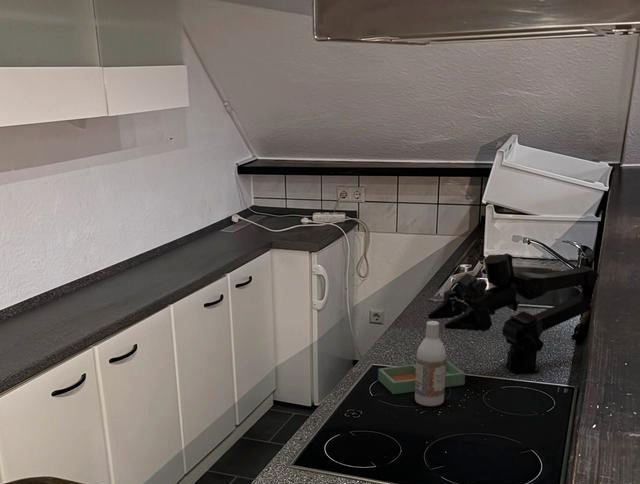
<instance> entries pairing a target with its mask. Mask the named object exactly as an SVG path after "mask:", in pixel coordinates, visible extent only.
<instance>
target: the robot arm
mask: <svg viewBox="0 0 640 484" xmlns="http://www.w3.org/2000/svg"><path fill="white" fill-rule="evenodd" d="M483 263H484V268H485V275H486V280H487V282H486V280H483V279H478V278H477V277H475V276H474V275H473V274H470V273H467V272H466V273H465V274H464V275H463V276H461V277H460V278H459V279H458V280H457V281H456V283H457V285H458V286H460V288H461V290H462V292H464V293H462V294H460V293H459V292H457V291H454V290H452V289H449V290H446V291H444V292H443V298H442V299H443V300H442V302H441V303H440V304H439V305H438V306H437V307H436V308H434V309H433V310H432V311H431V312H430V313H429V314H427V317H428V320H439V319H440V320H441V319H451V320H450V321H448V322H446V323H444V329H445V330H463V331H464V330H465V331H475V332H479V331H481V332H483V333H484V332H486V331H489V330H490V329H491V327H492V325H493V322H492V317H491V316H493V315H496V311H498V310H501V309H503V308H506V307H507V308H508V309H510V310H512V311H513V312H517V311H518V308H519V305H520V304H521V301H520V300H518V299H517V296H518V297H520V298H523V299H525V300H529V301H530V300H531V301H532V300H535V299H538V298H540V297H543V296H544V295H546V293H548V292H551V291H557V290H562V289H568V288H574V287H578V286H579V287H580V288H581V291H580V293H579V294H578V295H577V296H574V297H571V298H570V299H567V300H565V301H563V302H561V303H558V304H556V305H554V306H551V307H549V308H547V309H545V310H543V311H540V312H538V313H535V314H531V313H529V312H527V311H524V310H523V311H520V312H518V313H517V314H515V315H510V316H509V318H508V319H506V320H505V321H504V323H503V327H502V335H503V337H504V338H505V341H506V343H507V344H509V351H507V355H506V362H505V366H506V367H507V368H508V370H510V371H511V372H513V373H514V374H528V373H538V372H539V369H538V368H537V367H536V366H537V357H538V356H537V355H538V352H541V351H542V348H543V346H544V342H543V340H542V339H541V338H540V337H541V336H542V334H543V333H544V332H545V331H547V330H549V329H551V328H554V327H556V326H558V325H561V324H563V323H565V322H567V321H569V320H571V319H574V318H576V317H578V316H580V315H583V314H585V313H587V312H590V311H591V307H590V303H591V299H592V294H593V289H594V285H595V283H596V280H597V277H598V275H600V274H599V273H598V272H597V271H596V270H595V269H592V268H590V267H586V266H579V267H578V268H577V267H576V268H571V269H567V270H560V271H553V272H547V273H535V272H521V271H520V272H516V273H515V272H514V265H513V255H512V254H510V253H507V252H506V253H504V254H494V255H489V256H487V257H485V258H484V259H483ZM487 283H489V284H490V285H491V284H492V286H493V287H490V288H487V286H488V284H487ZM461 295H462V296H461ZM462 298H463V299H464V300H462ZM463 312H464V313H463ZM591 312H592V311H591ZM452 318H453V319H452Z"/></svg>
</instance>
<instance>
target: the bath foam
mask: <svg viewBox="0 0 640 484" xmlns="http://www.w3.org/2000/svg"><path fill="white" fill-rule="evenodd" d="M425 325H426V326H425V327H426V328H425V337H424V338H423V340H422V341H421V343H420V344H419V346H418V348H417V350H416V355H415V358H416V361H415V364H416V380H415V391H414V401H415V402H416V403H417V404H418V405H421V406H424V407H437V406H441V405H442V404H443V403H444V401H445V391H446V387H445V375H446V360H447V350H446V347H445V345H444V344H443V342H442V340H441V339H440V322H439V321H436V320H428V321H426V324H425Z"/></svg>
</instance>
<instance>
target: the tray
mask: <svg viewBox="0 0 640 484" xmlns="http://www.w3.org/2000/svg"><path fill="white" fill-rule="evenodd" d="M377 371H378V372H377V373H378V376H377V380H378V381H379V383H381V385H383V386H384V387H385V388H386V389H387V390H388V391H389V392H390V393H391V394H392V395H398V394H406V393H413V392H414V393H415V380H416V363H411V364H406V365H405V364H404V365H396V366H390V367H380V368H378V370H377ZM465 382H466V373H465V372H464V371H463V370H461V369H460V368H459V367H458V366H456V365H454V364H453V363H452V362H451V361H449V360H448V359H446V375H445V388H450V387H451V388H452V387H459V386H464V385H465V384H466V383H465Z"/></svg>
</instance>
